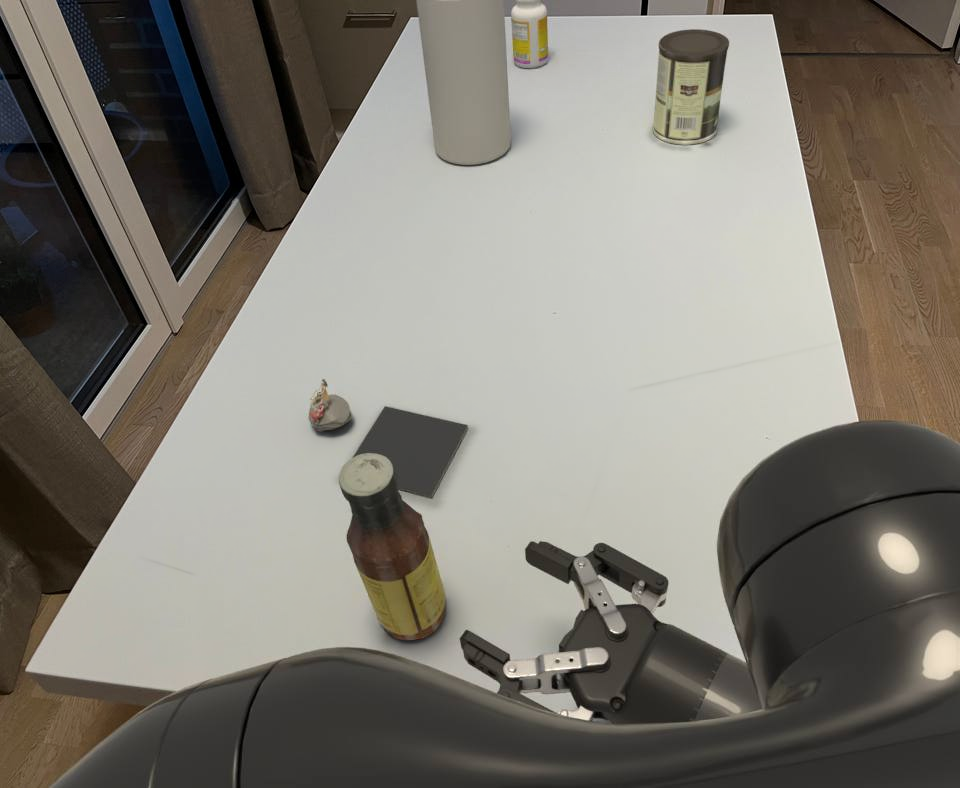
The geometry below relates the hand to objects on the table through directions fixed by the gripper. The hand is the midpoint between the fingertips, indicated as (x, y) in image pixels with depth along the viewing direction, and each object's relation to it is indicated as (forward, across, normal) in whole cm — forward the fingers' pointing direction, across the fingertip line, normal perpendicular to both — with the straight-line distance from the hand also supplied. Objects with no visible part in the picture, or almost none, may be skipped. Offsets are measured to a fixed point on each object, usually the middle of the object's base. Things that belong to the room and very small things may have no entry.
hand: (496, 593), depth 58 cm
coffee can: (+25, -93, +12) cm, 97 cm away
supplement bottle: (+62, -106, +12) cm, 123 cm away
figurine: (+32, -14, +12) cm, 37 cm away
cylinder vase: (+53, -73, +12) cm, 91 cm away
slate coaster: (+22, -15, +12) cm, 29 cm away
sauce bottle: (+10, 0, +12) cm, 16 cm away
